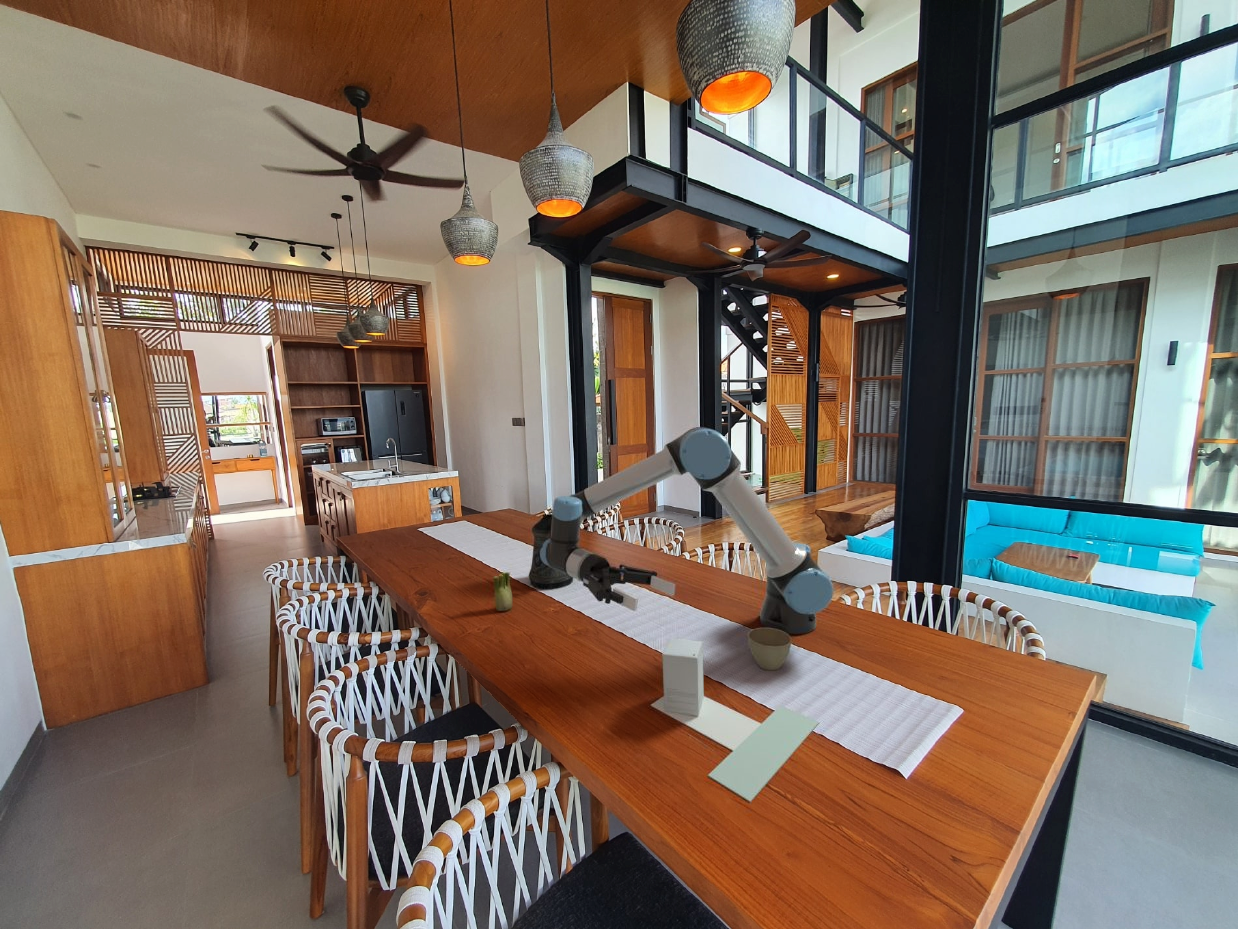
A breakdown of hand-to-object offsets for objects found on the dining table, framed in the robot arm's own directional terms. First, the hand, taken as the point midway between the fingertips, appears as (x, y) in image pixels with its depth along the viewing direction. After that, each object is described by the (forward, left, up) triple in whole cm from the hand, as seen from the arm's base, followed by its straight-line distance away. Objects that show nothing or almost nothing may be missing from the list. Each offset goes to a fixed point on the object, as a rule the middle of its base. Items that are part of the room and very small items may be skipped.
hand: (656, 597), depth 106 cm
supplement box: (-5, +7, -21) cm, 23 cm away
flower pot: (-27, -8, -21) cm, 35 cm away
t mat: (-11, +13, -21) cm, 27 cm away
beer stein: (+33, -68, -21) cm, 78 cm away
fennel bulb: (+46, -45, -21) cm, 67 cm away
